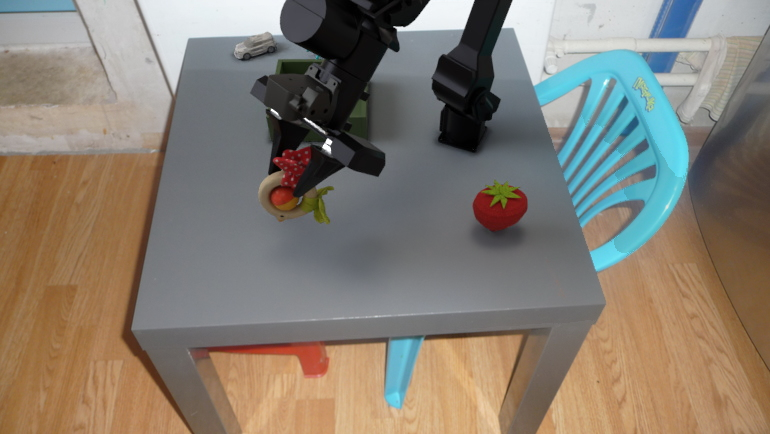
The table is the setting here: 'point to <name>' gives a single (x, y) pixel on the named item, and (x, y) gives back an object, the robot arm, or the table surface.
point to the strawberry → (499, 206)
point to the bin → (356, 119)
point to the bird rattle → (291, 189)
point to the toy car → (255, 46)
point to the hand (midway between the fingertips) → (283, 186)
